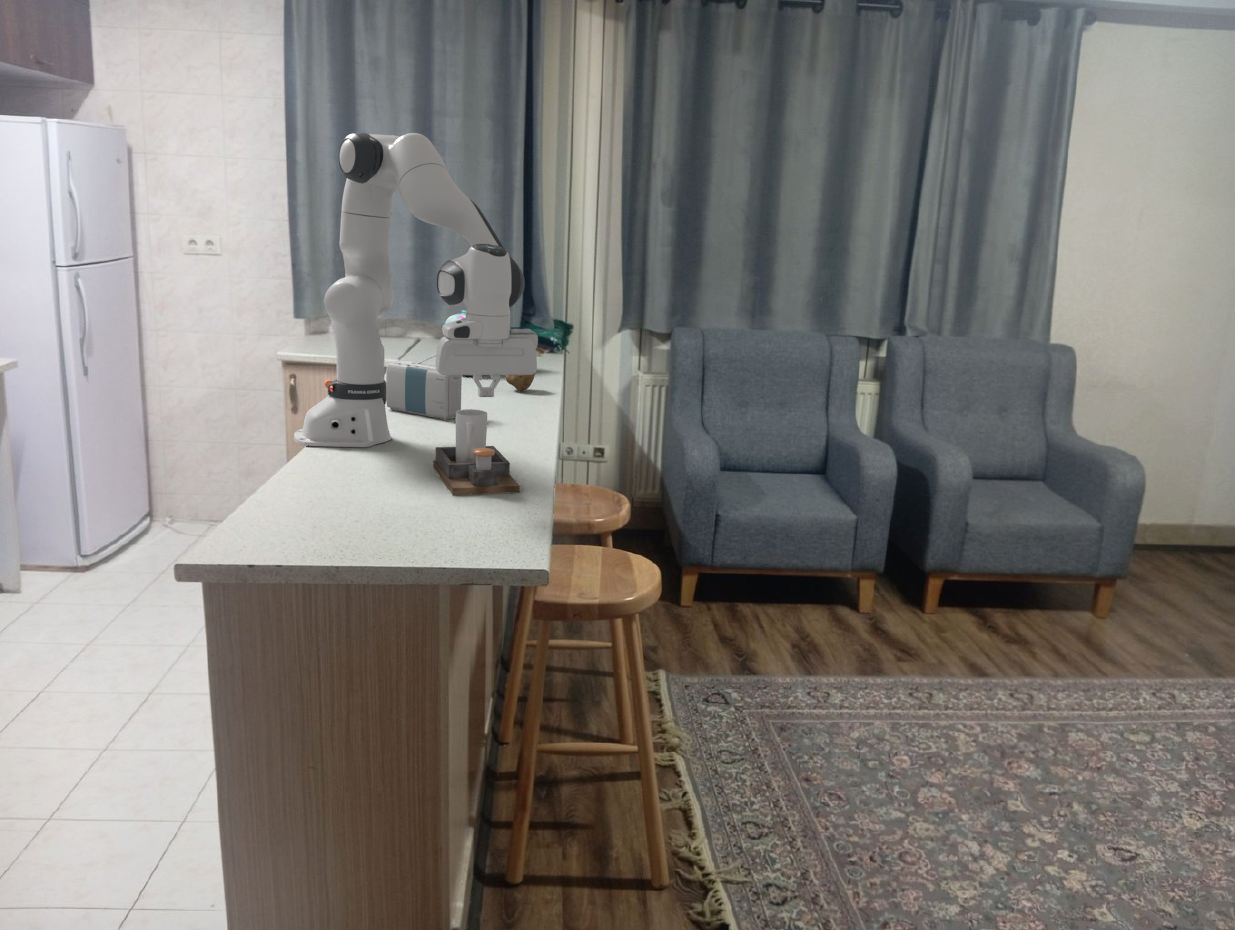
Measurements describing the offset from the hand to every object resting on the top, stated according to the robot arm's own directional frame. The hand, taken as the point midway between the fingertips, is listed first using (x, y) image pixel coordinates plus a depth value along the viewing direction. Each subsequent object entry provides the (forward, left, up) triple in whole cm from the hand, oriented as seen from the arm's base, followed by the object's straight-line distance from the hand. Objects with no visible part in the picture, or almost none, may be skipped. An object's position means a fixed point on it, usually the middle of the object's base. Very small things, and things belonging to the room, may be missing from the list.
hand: (486, 396), depth 204 cm
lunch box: (+29, +138, -20) cm, 142 cm away
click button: (0, 0, -16) cm, 16 cm away
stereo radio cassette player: (0, +74, -20) cm, 76 cm away
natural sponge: (+35, +105, -20) cm, 112 cm away
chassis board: (0, +8, -20) cm, 21 cm away
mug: (-1, +11, -18) cm, 21 cm away
